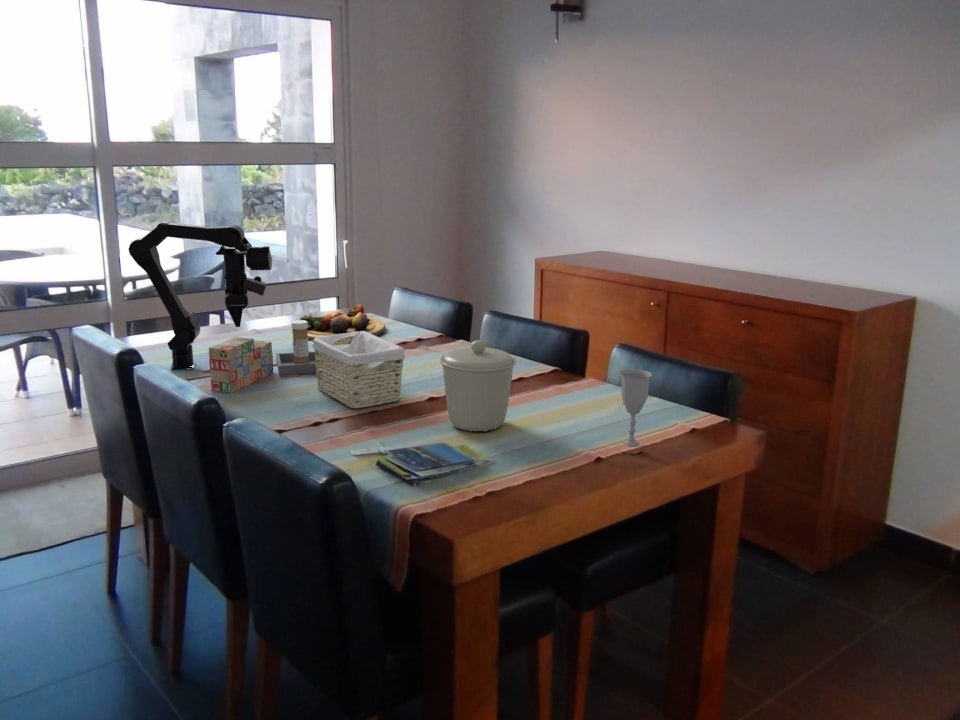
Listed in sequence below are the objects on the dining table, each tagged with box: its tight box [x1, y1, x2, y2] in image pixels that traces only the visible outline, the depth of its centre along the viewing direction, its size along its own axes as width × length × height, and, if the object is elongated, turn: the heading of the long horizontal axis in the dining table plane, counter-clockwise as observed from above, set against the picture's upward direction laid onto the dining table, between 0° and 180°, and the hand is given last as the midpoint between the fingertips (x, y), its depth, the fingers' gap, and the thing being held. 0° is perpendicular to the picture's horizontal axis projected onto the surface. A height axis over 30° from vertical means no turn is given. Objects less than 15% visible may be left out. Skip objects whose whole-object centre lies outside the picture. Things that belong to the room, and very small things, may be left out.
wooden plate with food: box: [291, 303, 386, 342], centre depth 294 cm, size 32×32×8 cm
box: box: [275, 350, 317, 377], centre depth 249 cm, size 14×14×3 cm
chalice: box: [620, 368, 653, 447], centre depth 188 cm, size 7×7×18 cm
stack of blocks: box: [208, 336, 274, 394], centre depth 234 cm, size 21×6×12 cm, turn 162°
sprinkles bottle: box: [291, 319, 310, 364], centre depth 247 cm, size 5×5×14 cm
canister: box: [439, 339, 517, 432], centre depth 201 cm, size 18×18×21 cm
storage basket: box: [312, 331, 406, 409], centre depth 223 cm, size 24×16×15 cm
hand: (237, 323), depth 246 cm, fingers open, 9 cm apart
